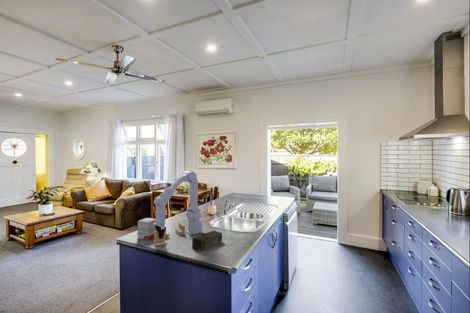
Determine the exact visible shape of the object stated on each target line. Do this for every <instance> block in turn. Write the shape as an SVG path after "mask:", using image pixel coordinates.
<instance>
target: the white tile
mask: <svg viewBox="0 0 470 313" xmlns="http://www.w3.org/2000/svg"><path fill="white" fill-rule="evenodd" d="M152 242H153V243H154V246H160V245H161V246H162V245H165V244H168V241H167V240H166V241H161V242H155V241H154V240H153V241H152Z"/></svg>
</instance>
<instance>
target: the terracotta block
mask: <svg viewBox="0 0 470 313" xmlns="http://www.w3.org/2000/svg"><path fill="white" fill-rule="evenodd" d="M153 241H155V242H161V241H167V238H166V233H165V232H164V236H163V239H159V235H158V232H157V231H156V232H154V237H153Z"/></svg>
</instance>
